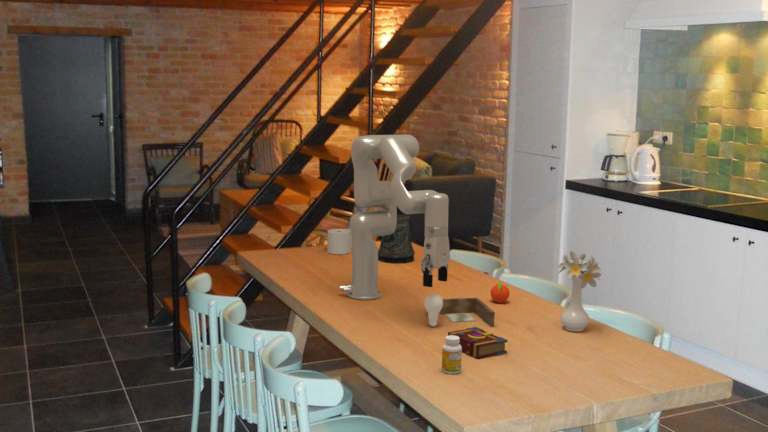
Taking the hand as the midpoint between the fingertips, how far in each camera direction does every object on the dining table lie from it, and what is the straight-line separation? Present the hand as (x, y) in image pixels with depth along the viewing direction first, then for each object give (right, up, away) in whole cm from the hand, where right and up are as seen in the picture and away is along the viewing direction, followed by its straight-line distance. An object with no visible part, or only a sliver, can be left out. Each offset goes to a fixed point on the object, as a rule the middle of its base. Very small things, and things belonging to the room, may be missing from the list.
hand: (435, 283), depth 273 cm
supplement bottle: (+2, -21, -38) cm, 44 cm away
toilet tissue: (-37, +5, +115) cm, 121 cm away
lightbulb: (-1, -15, +3) cm, 15 cm away
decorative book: (+11, -19, -18) cm, 28 cm away
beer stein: (-13, +2, +101) cm, 102 cm away
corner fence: (+9, -13, +12) cm, 20 cm away
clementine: (+25, -10, +34) cm, 43 cm away
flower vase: (+47, -16, +3) cm, 49 cm away
